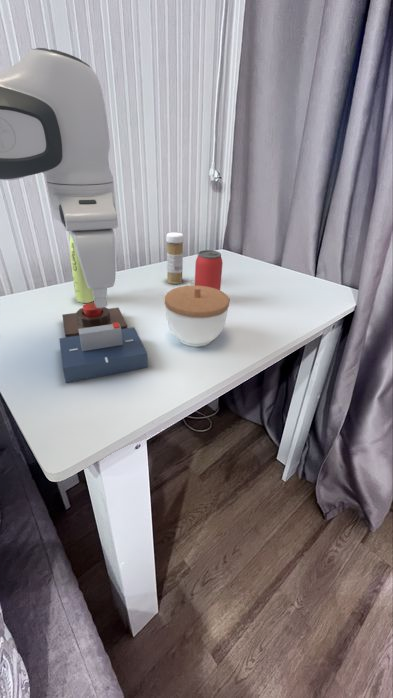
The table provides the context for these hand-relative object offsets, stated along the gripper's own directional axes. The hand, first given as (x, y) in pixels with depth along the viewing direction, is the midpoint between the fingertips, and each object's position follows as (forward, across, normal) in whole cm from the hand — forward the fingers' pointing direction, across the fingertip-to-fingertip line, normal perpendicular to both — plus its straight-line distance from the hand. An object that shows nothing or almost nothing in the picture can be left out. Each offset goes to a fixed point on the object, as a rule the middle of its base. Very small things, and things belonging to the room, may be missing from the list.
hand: (96, 294), depth 55 cm
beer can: (+13, -19, +29) cm, 37 cm away
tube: (+13, -28, 0) cm, 31 cm away
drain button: (+9, -12, 0) cm, 15 cm away
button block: (+13, -12, 0) cm, 17 cm away
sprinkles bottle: (+13, -33, +25) cm, 43 cm away
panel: (+13, 0, 0) cm, 13 cm away
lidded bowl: (+13, -2, +19) cm, 23 cm away
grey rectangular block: (+10, 0, 0) cm, 10 cm away
